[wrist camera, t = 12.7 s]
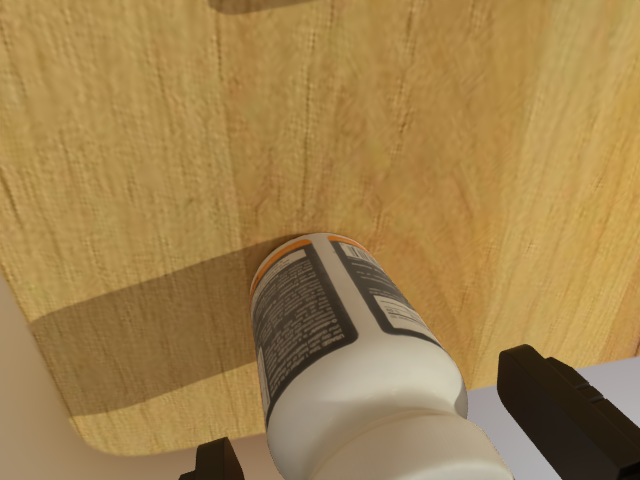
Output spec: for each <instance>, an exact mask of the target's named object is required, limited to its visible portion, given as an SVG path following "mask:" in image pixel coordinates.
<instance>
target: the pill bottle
mask: <svg viewBox="0 0 640 480" xmlns="http://www.w3.org/2000/svg"><path fill="white" fill-rule="evenodd" d="M249 304H250V313H251V322H252V328H253V334H254V341H255V350H256V356H257V364H258V373H259V380H260V388H261V396H262V404H263V412H264V419H265V427H266V433H267V441H268V447H269V450H270V453H271V456H272V458H273V461H274V463H275V465H276V467H277V469H278V471H279V472H280V474H281V475H282V476H283V478H284V479H285V480H515V479H514V477H513V475H512V473H511V471H510V470H509V468H508V466H507V465H506V464H505V462H504V461H503V459H502V458H501V456H500V455H499V453H498V452H497V450H496V449H495V447H494V446H493V444H492V443H491V441H490V440H489V438H488V436H487V435H486V434H485V432H484V431H483V430H481V429H480V428H479V427H478V426H477V425H475V424H473V423H472V422H470V421H468V420H467V412H468V398H467V391H466V387H465V383H464V381H463V378H462V375H461V373H460V371H459V369H458V367H457V365H456V364H455V362H454V361H453V359H452V358H451V356H450V355H449V354H448V353H447V352H446V350H445V349H444V348H443V346H442V345H441V344H440V343H439V341H438V340H437V339H436V337H435V336H434V335H433V333H432V332H431V331H430V329H429V328H428V327H427V325H426V324H425V323H424V321H423V320H422V319H421V317H420V316H419V315H418V313H417V312H416V311H415V310H414V308H413V307H412V306H411V305H410V303H409V302H408V301H407V299H406V298H405V297H404V296H403V294H402V293H401V292H400V291H399V289H398V288H397V287H396V285H395V284H394V283H393V282H392V281H391V279H390V278H389V277H388V275H387V274H386V273H385V271H384V270H383V269H382V267H381V266H380V265H379V263H378V262H377V261H376V260H375V258H374V257H373V256H372V255H371V254H370V253H369V252H368V251H367V250H366V249H365V248H364V247H363V246H361V245H360V244H359V243H357V242H356V241H354V240H352V239H350V238H347V237H345V236H341V235H337V234H333V233H313V234H308V235H303V236H300V237H298V238H295V239H292V240H290V241H288V242H286V243H285V244H283V245H281V246H280V247H278V248H277V249H276V250H274V251H273V252H272V253H271V254H270V255H268V256H267V258H266V259H265V260H264V261H263V262H262V264H261V265H260V267H259V268H258V270H257V272H256V274H255V276H254V278H253V281H252V284H251V288H250V297H249Z"/></svg>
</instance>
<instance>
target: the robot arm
mask: <svg viewBox="0 0 640 480" xmlns="http://www.w3.org/2000/svg"><path fill="white" fill-rule="evenodd" d="M497 391H498V395H499V397H500V399H501V402H502V403H503V405H504V407H505V408H506V409H507V411H508V412H509V413H510V415H511V416H512V417H513V418H514V420H515V421H516V422H517V423H518V425H519V426H520V427H521V428H522V429H523V431H524V432H525V433H526V435H527V436H528V437H529V438H530V440H531V441H532V442H533V443H534V445H535V446H536V447H537V449H538V450H539V451H540V452H541V454H542V455H543V456H544V457H545V459H546V460H547V461H548V462H549V464H550V465H551V466H552V467H553V469H554V470H555V471H556V472H557V474H558V475H559V476H560V477H561V479H562V480H640V428H639V427H638V426H636V425H635V424H634V423H633V422H632V421H631V420H630V419H629V418H628V417H626V416H625V415H624V414H623V413H622V412H621V411H620V410H619V409H618V408H616V407H615V406H614V405H613V404H612V403H611V402H610V401H609V400H608V399H605V398H604V397H603V395H602V394H601V393H600V392H599V391H598V390H597V389H595V388H594V387H593V386H590V384H589V382H588V381H587V380H585V379H584V378H583V377H582V376H581V375H580V374H579V373H577V371H575V370H574V369H573V368H572V367H570V366H568V365H566V364H564V363H562V362H560V361H559V360H557V359H555V358H553V357H549V358H546V359H544V358H543V357H542V356H541V355H540V354H539V353H538V352H537V351H536V350H535V349H534V348H533V347H531V346H530V345H528V344H523V345H520V346H517V347H514V348H511V349H507V350H504V351H502V352H500V354H499V364H498V377H497ZM179 480H245V479H244V475H243V471H242V468H241V466H240V464H239V461H238V459H237V457H236V455H235V452H234V450H233V448H232V446H231V443H230V441H229V439H228V437H224V438H221V439H217V440H214V441H211V442H208V443H205V444H202V445H199V446H198V448H197V454H196V467H195V470H194V471H191V472H188V473H185V474H182V475H181V476H180V478H179Z"/></svg>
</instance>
